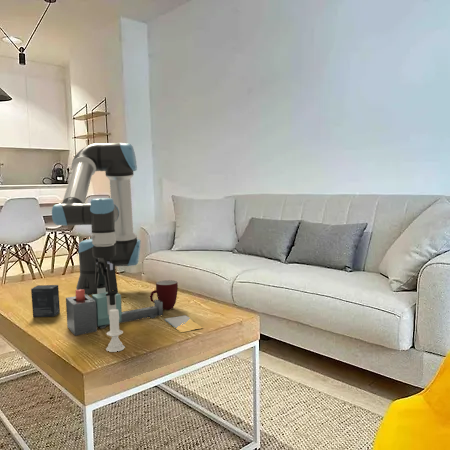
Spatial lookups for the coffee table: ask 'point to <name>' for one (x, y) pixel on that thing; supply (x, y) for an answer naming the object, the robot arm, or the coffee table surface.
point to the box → (45, 300)
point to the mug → (166, 293)
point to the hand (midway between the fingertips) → (106, 310)
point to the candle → (114, 332)
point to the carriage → (105, 308)
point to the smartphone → (177, 320)
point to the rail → (141, 313)
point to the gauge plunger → (80, 295)
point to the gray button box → (81, 315)
